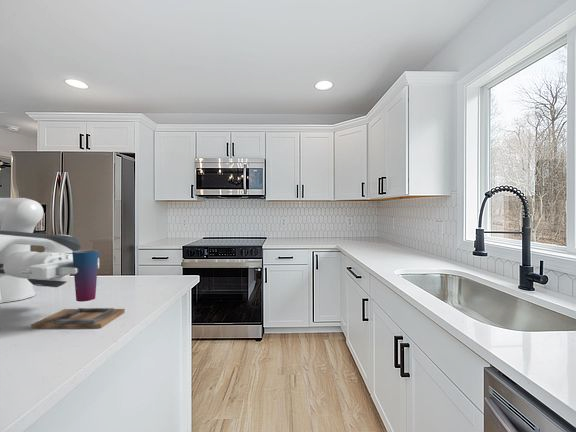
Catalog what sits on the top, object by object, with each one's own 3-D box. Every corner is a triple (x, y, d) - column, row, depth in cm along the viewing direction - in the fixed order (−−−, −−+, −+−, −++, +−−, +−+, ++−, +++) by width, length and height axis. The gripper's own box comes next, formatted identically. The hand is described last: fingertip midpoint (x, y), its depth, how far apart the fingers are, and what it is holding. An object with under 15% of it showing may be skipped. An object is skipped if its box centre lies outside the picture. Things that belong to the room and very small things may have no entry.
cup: (95, 295, 102) (95, 249, 102) (101, 299, 97) (101, 251, 97) (70, 299, 97) (70, 251, 97) (75, 303, 92) (74, 253, 92)
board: (31, 328, 91) (31, 320, 91) (64, 312, 105) (64, 306, 105) (101, 328, 92) (101, 320, 92) (124, 312, 106) (124, 306, 106)
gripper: (16, 261, 89) (56, 263, 87) (78, 252, 109) (112, 253, 107) (17, 283, 90) (56, 286, 87) (78, 270, 110) (112, 272, 107)
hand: (88, 268), depth 97 cm, fingers closed on cup, 6 cm apart
